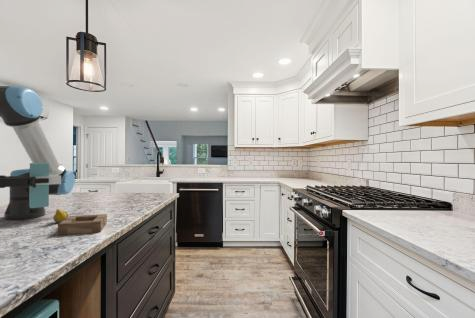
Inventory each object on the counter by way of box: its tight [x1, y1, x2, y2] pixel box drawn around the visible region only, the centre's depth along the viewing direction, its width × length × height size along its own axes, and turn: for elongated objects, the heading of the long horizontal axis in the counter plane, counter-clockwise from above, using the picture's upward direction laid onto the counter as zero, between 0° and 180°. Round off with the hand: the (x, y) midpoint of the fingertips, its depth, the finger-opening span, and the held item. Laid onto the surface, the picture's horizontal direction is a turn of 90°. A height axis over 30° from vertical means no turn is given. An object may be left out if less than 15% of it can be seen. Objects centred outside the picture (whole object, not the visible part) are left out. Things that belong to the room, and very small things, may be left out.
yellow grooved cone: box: [53, 208, 69, 224], centre depth 108 cm, size 5×5×10 cm
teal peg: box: [29, 162, 50, 208], centre depth 80 cm, size 4×4×14 cm
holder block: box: [57, 213, 108, 236], centre depth 100 cm, size 14×14×4 cm
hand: (59, 179), depth 83 cm, fingers closed on teal peg, 4 cm apart
